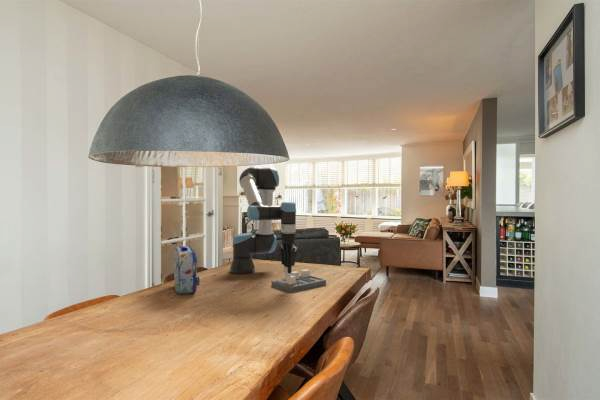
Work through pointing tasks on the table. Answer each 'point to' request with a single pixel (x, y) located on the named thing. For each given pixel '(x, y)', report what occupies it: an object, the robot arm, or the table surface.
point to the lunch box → (185, 270)
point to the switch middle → (295, 274)
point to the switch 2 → (305, 273)
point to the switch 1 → (290, 279)
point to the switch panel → (299, 283)
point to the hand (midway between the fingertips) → (287, 279)
